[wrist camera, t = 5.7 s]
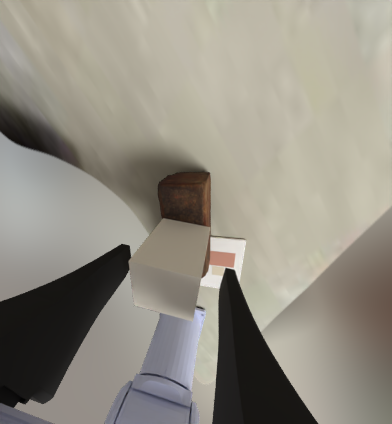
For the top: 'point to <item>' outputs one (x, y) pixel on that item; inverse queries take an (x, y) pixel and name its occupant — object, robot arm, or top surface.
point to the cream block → (170, 268)
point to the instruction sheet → (223, 259)
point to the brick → (187, 201)
